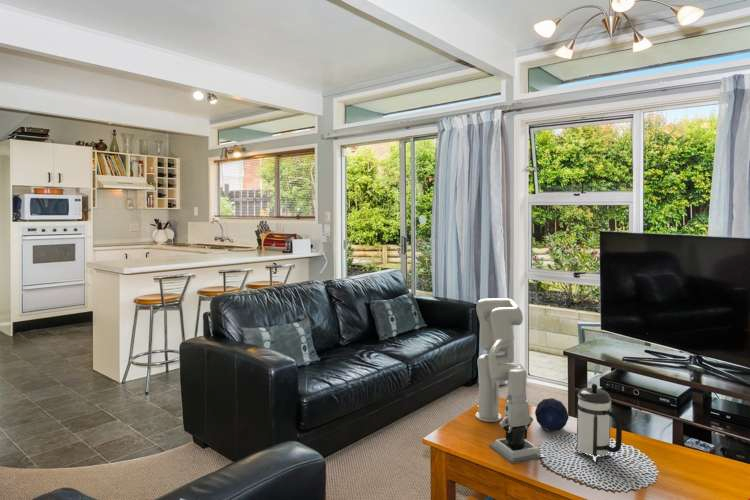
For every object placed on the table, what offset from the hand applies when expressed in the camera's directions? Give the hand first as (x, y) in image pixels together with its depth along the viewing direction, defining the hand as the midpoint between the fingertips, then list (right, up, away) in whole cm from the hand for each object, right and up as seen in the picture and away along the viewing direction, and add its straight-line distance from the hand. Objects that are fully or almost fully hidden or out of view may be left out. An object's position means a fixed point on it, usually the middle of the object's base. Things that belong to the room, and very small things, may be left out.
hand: (516, 439), depth 210 cm
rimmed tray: (0, -5, 0) cm, 5 cm away
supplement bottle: (0, -4, 0) cm, 4 cm away
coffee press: (+32, -6, -4) cm, 33 cm away
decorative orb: (+23, -4, +23) cm, 33 cm away
